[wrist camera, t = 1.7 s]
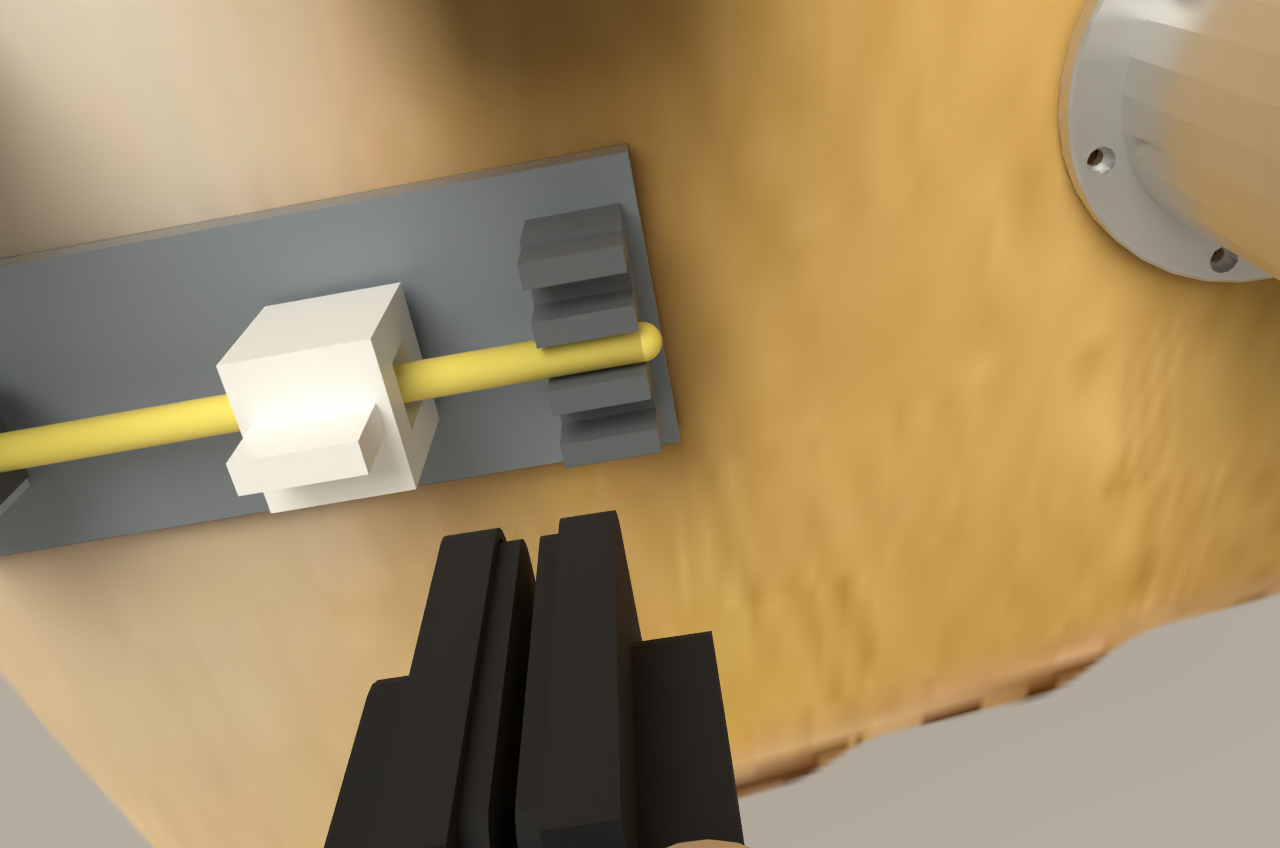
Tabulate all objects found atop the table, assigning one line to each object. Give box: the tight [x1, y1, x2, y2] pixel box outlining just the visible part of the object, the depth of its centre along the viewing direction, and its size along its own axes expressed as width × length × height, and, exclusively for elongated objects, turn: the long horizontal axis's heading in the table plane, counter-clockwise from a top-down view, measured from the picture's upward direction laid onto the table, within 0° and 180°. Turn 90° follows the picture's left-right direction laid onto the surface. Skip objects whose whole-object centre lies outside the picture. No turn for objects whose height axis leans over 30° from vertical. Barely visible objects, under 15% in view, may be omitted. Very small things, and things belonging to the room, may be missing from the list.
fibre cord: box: [0, 322, 662, 473], centre depth 34 cm, size 23×1×1 cm, turn 100°
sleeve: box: [216, 282, 439, 513], centre depth 33 cm, size 4×5×7 cm
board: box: [0, 144, 680, 556], centre depth 36 cm, size 26×10×5 cm, turn 100°
